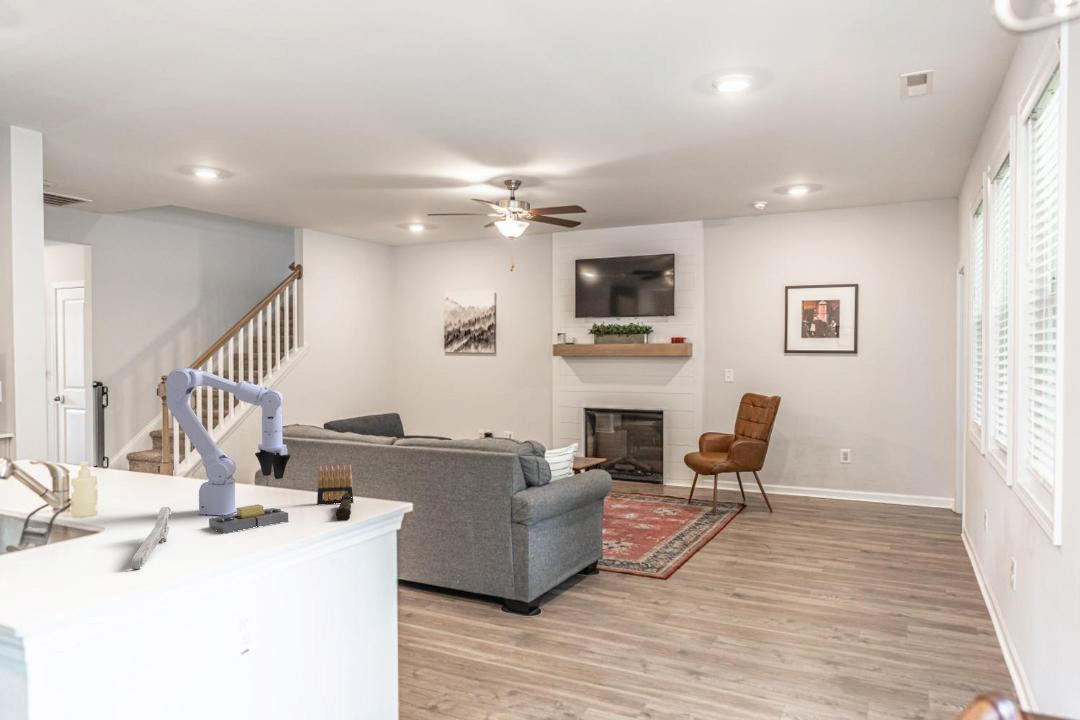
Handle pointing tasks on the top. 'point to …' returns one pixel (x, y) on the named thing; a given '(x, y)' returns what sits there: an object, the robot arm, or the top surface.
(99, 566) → the top surface
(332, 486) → the ammunition clip
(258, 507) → the brass rectangular block
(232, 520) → the chain ends
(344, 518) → the dark brown elongated piece
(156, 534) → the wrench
